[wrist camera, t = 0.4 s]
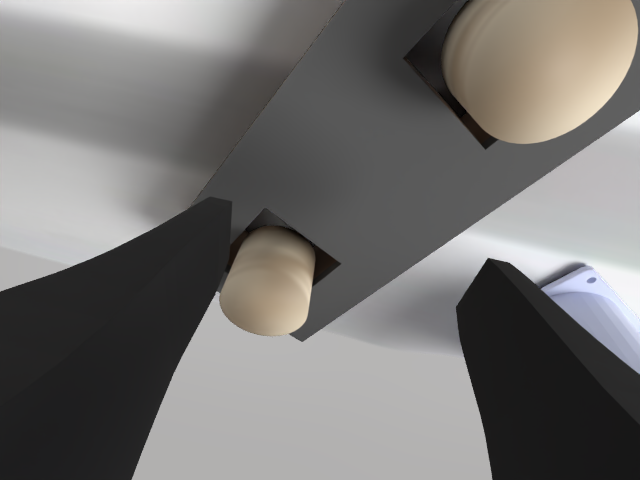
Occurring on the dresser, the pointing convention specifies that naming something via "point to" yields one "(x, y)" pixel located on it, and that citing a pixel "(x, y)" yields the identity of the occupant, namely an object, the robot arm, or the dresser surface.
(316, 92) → the block
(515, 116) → the peg
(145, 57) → the dresser surface
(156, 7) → the dresser surface
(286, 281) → the peg
